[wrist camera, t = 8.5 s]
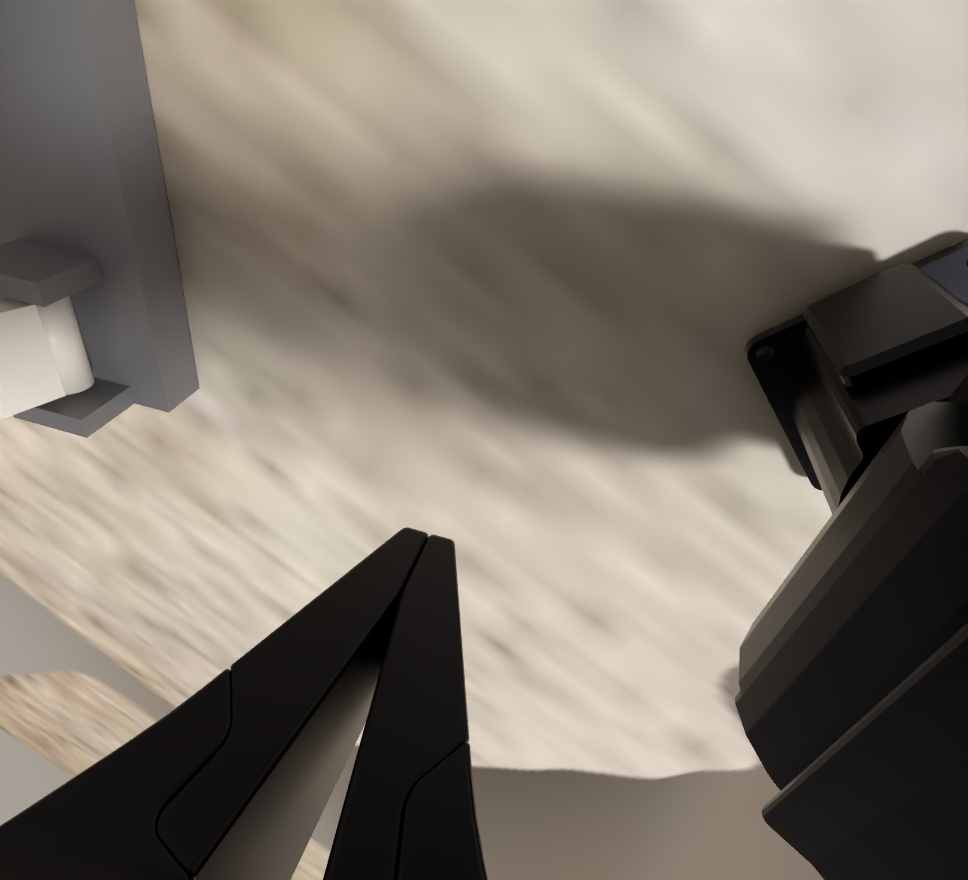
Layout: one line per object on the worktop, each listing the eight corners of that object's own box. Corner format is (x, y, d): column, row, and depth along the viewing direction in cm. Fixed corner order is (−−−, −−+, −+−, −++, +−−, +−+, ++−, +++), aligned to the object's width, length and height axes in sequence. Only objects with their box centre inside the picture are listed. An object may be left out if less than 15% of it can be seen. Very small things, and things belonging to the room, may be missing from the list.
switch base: (57, -452, 12) (-191, -662, 8) (199, 388, 24) (123, 447, 21) (-189, -485, 12) (-524, -697, 9) (73, 354, 25) (-22, 407, 21)
